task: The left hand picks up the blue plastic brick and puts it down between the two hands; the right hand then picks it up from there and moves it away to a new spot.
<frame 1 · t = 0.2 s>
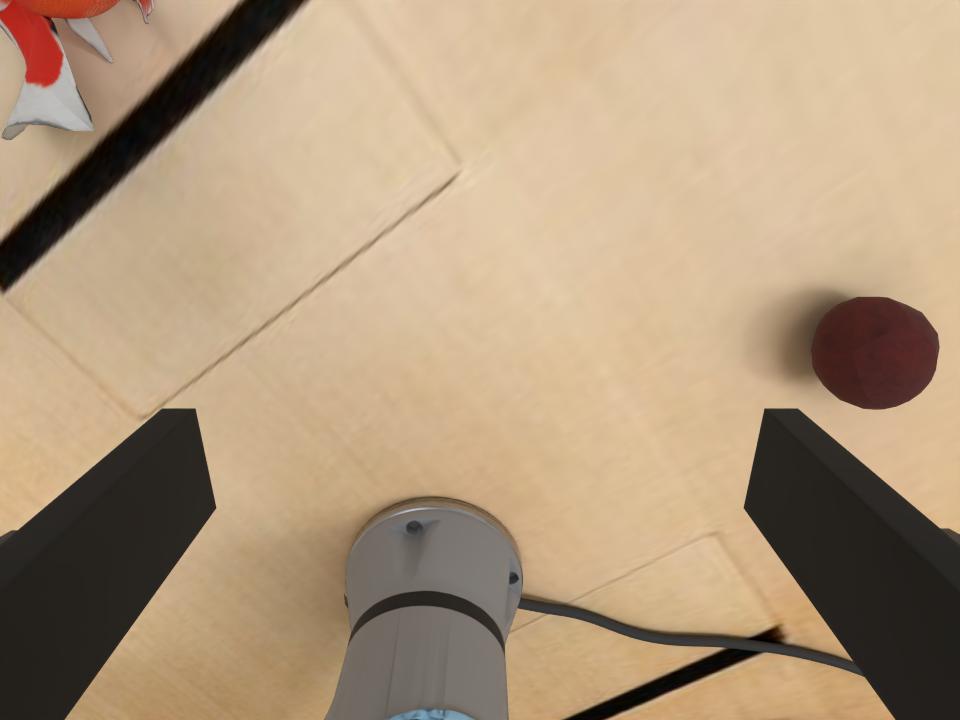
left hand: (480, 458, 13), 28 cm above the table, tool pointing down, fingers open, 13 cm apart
potato: (839, 333, 41), on the table
fish: (99, 37, 34), on the table
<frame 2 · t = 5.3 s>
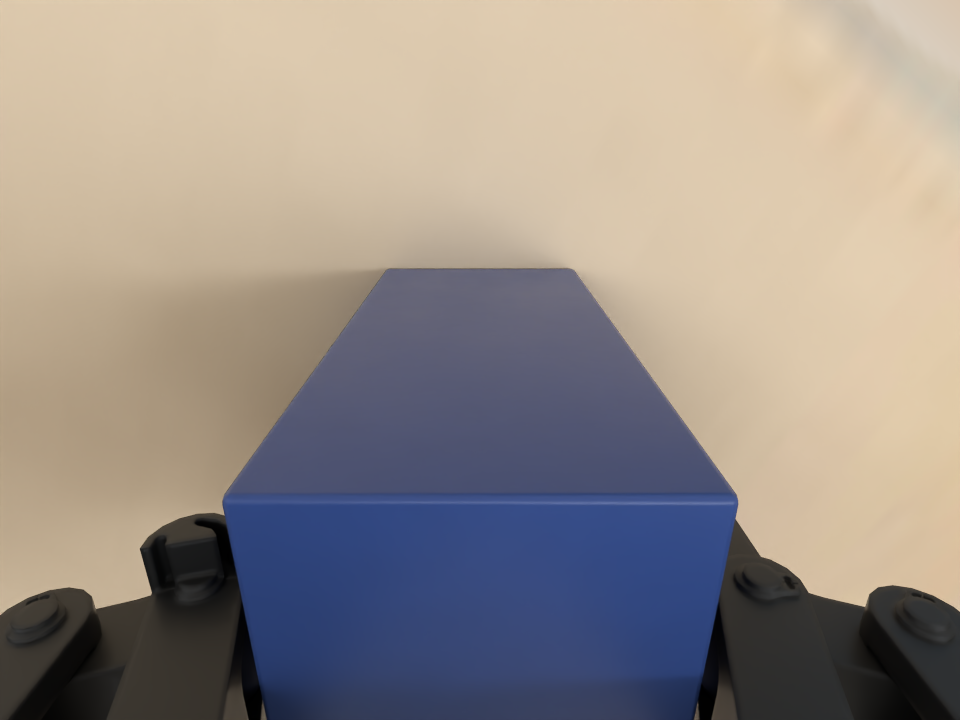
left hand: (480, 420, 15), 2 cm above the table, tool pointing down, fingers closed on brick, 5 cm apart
brick: (480, 387, 17), on the table, touching left hand
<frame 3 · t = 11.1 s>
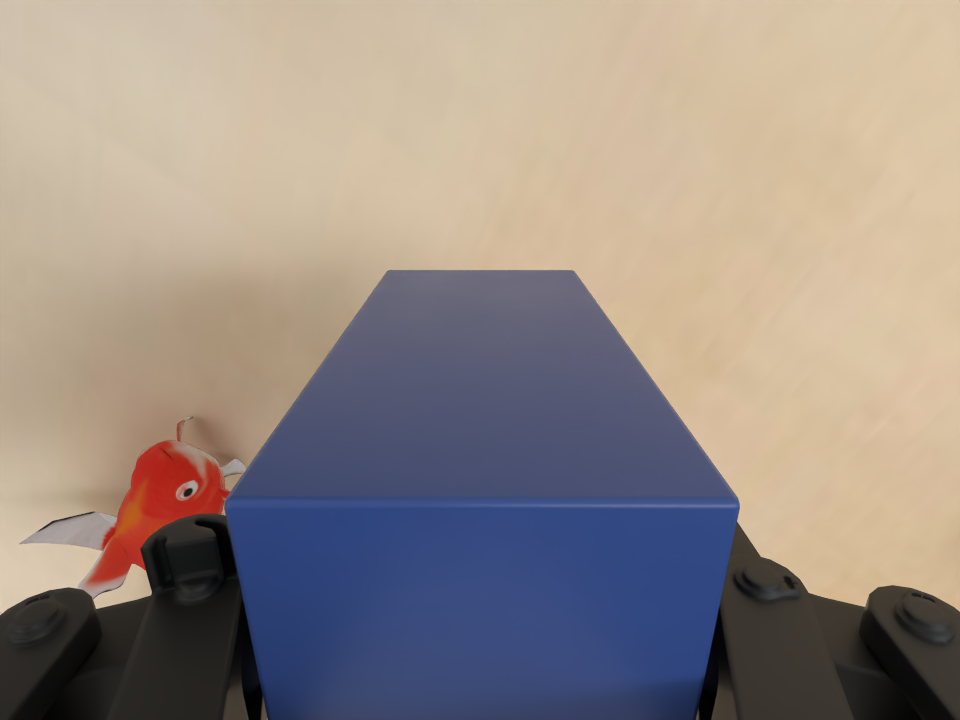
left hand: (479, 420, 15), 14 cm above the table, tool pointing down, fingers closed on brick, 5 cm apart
brick: (480, 388, 17), point 12 cm above the table, touching left hand
fish: (203, 505, 33), on the table
when the left hand's fingers open (4 cm above the table, at t = 17.3 s): brick drops 2 cm, on the table.
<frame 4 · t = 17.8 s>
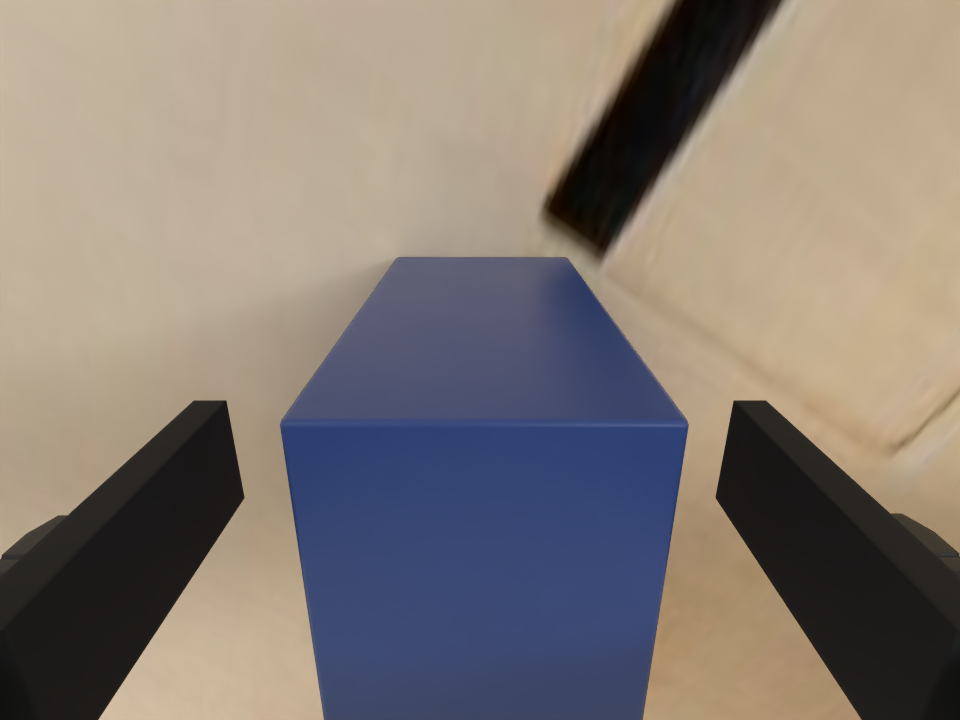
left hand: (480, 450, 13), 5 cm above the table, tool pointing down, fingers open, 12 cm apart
brick: (481, 366, 18), on the table
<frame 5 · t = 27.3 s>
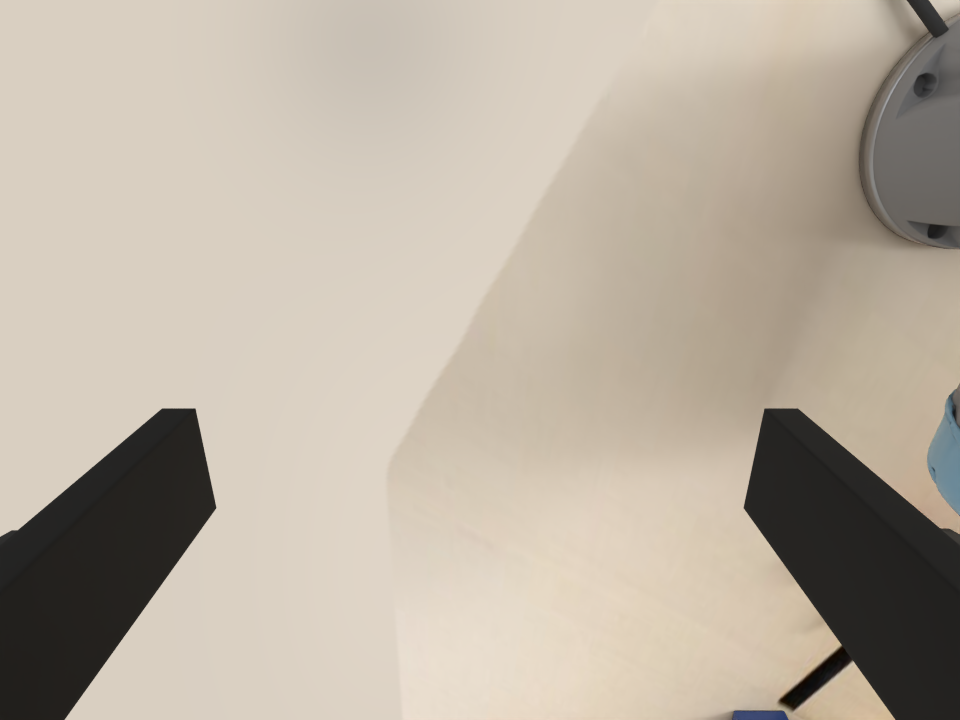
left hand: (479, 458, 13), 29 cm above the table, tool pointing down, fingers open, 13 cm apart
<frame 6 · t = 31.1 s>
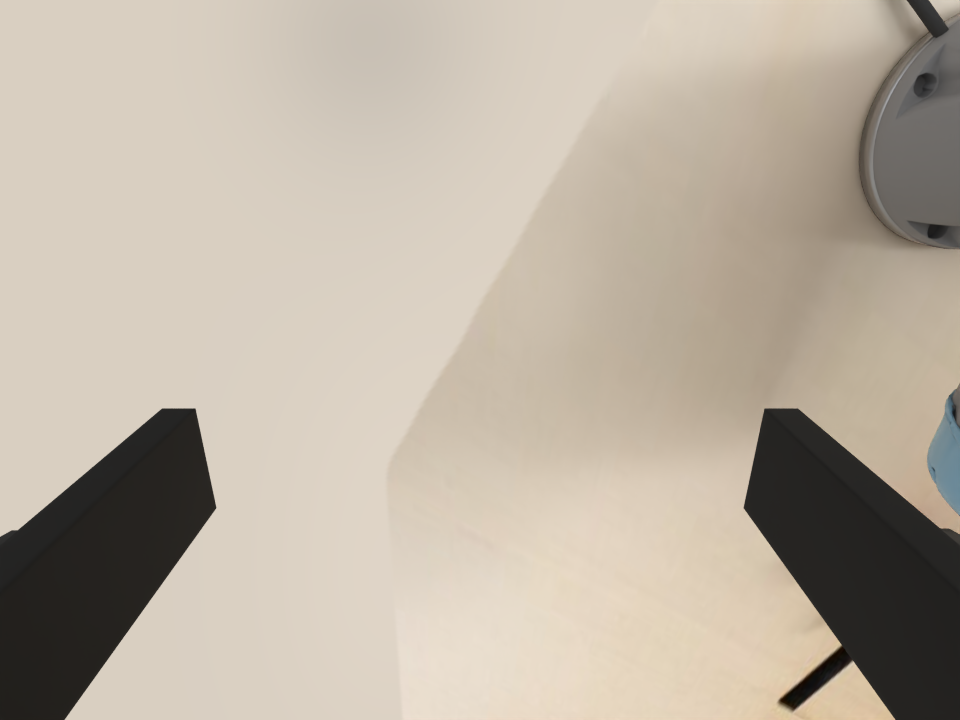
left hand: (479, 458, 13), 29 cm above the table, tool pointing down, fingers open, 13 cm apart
when the right hand's fingers open (4 cm above the table, at t = 35.1 s): brick drops 2 cm, on the table.
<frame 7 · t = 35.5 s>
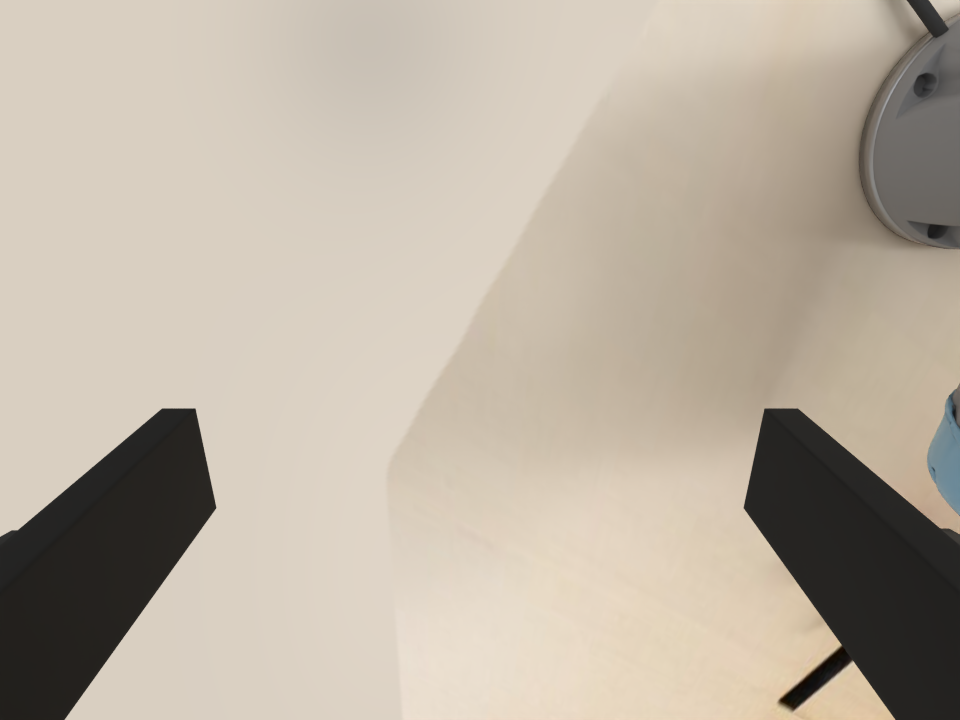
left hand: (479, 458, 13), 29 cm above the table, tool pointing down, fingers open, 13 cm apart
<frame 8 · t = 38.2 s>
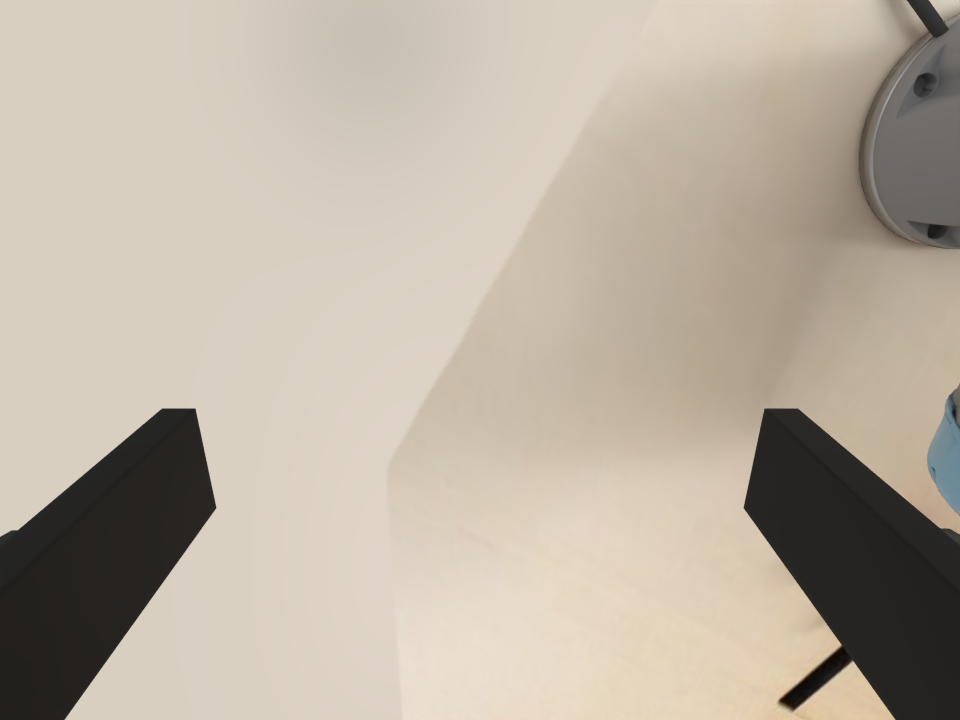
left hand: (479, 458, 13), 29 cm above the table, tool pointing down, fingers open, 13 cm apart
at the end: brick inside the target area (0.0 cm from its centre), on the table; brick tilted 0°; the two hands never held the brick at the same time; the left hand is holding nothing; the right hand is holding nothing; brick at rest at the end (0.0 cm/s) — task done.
